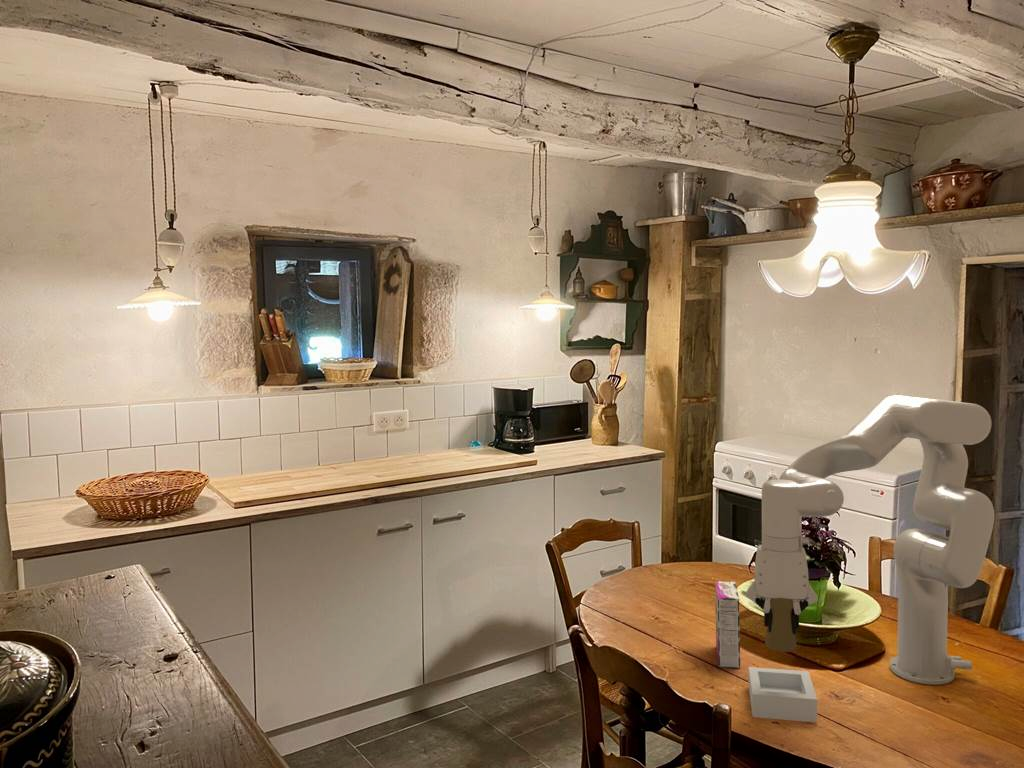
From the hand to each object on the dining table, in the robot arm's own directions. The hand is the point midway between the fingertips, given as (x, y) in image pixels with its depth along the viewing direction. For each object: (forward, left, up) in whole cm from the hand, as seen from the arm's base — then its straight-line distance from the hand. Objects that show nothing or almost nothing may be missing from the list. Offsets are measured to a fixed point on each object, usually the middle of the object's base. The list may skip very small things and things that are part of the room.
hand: (781, 629), depth 155 cm
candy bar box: (+10, -20, -16) cm, 27 cm away
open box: (0, 0, -16) cm, 16 cm away
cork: (0, 0, -3) cm, 3 cm away
